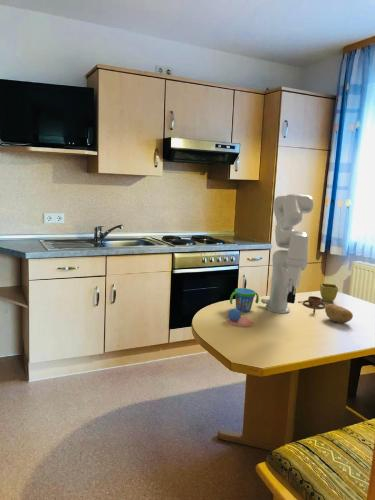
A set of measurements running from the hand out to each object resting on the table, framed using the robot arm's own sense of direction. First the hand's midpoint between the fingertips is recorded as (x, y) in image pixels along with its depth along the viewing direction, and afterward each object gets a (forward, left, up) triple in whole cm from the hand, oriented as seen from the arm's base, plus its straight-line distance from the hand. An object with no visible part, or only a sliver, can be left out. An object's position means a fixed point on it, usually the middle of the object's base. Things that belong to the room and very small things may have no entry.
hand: (290, 302), depth 181 cm
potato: (+19, +30, -14) cm, 38 cm away
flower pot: (+10, +66, -14) cm, 68 cm away
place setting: (+4, +47, -15) cm, 49 cm away
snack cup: (-26, +18, -14) cm, 35 cm away
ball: (-25, -1, -11) cm, 27 cm away
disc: (-22, 0, -14) cm, 26 cm away
